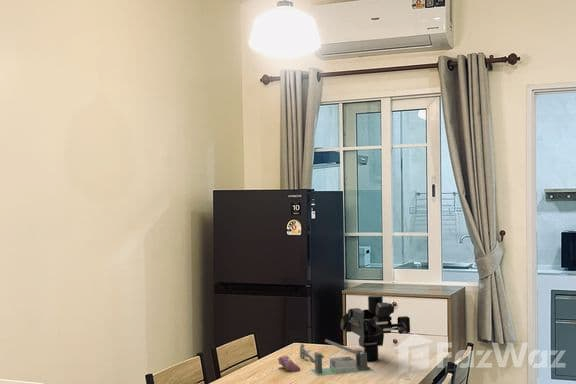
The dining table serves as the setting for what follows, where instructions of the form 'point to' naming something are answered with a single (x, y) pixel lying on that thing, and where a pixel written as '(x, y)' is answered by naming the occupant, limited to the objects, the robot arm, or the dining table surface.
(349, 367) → the heatsink
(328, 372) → the board
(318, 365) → the post
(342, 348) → the strap
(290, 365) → the purple rounded piece
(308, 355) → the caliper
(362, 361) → the hinge post
